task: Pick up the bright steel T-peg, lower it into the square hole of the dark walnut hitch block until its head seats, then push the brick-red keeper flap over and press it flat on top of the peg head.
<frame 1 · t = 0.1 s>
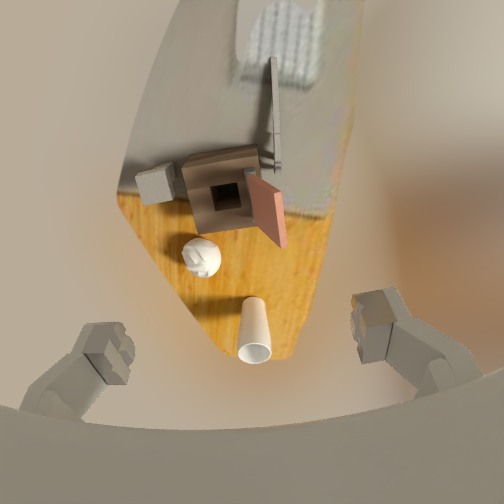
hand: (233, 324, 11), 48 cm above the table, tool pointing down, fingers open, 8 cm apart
drinking glass: (253, 303, 73), on the table
steel peg: (166, 170, 56), on the table
white ridged ball: (203, 246, 65), on the table
hitch block: (228, 180, 57), on the table
caliper: (274, 113, 51), on the table
keeper flap: (266, 209, 44), point 15 cm above the table, hinge at 112.0°
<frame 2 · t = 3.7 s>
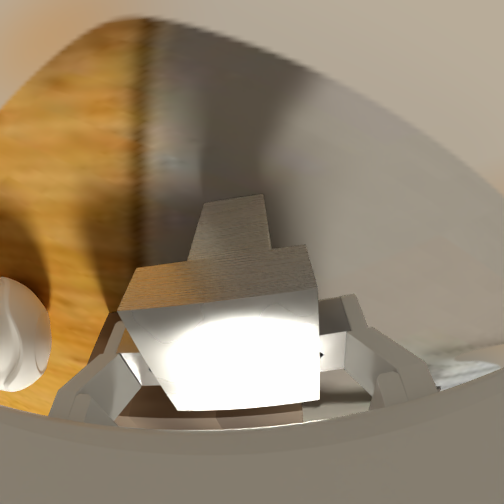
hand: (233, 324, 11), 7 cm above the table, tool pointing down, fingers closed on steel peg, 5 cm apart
steel peg: (238, 224, 17), on the table, touching gripper
white ridged ball: (28, 298, 20), on the table
hitch block: (213, 363, 23), on the table
when the fingers open (9 cm above the table, at t = 10.1 s): steel peg stays where it is, resting on hitch block.
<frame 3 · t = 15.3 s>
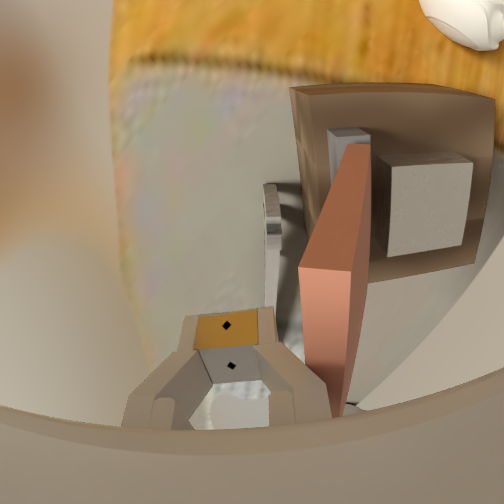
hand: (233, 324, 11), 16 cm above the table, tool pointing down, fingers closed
steel peg: (375, 160, 23), point 1 cm above the table, touching hitch block
white ridged ball: (438, 5, 16), on the table
hitch block: (371, 156, 23), on the table
caliper: (268, 282, 31), on the table
keeper flap: (349, 284, 11), point 15 cm above the table, hinge at 112.0°, touching gripper
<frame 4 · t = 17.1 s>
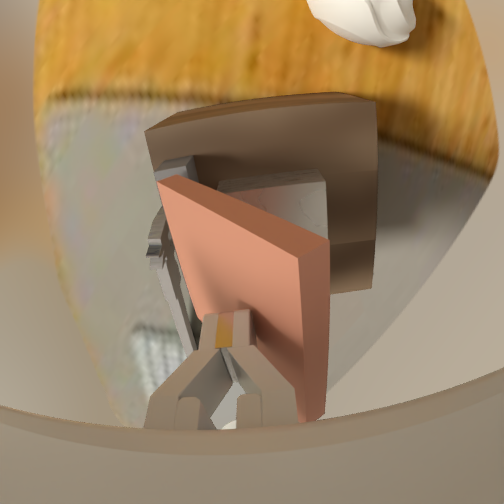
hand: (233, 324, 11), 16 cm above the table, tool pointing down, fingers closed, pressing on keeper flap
steel peg: (268, 178, 24), point 1 cm above the table, touching hitch block
white ridged ball: (346, 3, 17), on the table
hitch block: (267, 173, 24), on the table
caliper: (183, 296, 32), on the table
keeper flap: (235, 295, 12), point 14 cm above the table, hinge at 54.5°, touching gripper
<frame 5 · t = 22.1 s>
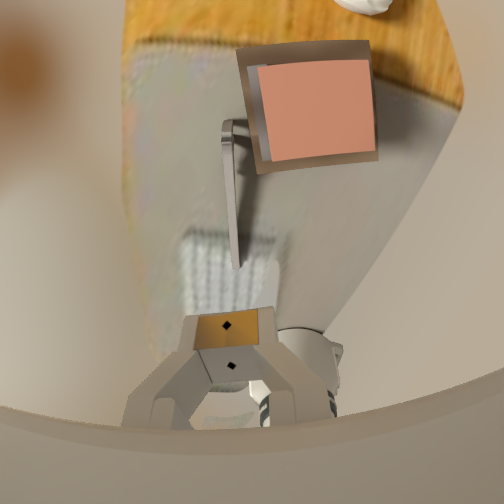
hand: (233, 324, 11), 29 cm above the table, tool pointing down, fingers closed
hitch block: (299, 97, 33), on the table
caliper: (232, 198, 40), on the table
keeper flap: (319, 108, 24), point 11 cm above the table, hinge at -0.5°
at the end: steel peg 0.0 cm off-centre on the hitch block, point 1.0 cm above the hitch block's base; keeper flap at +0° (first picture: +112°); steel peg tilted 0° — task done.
